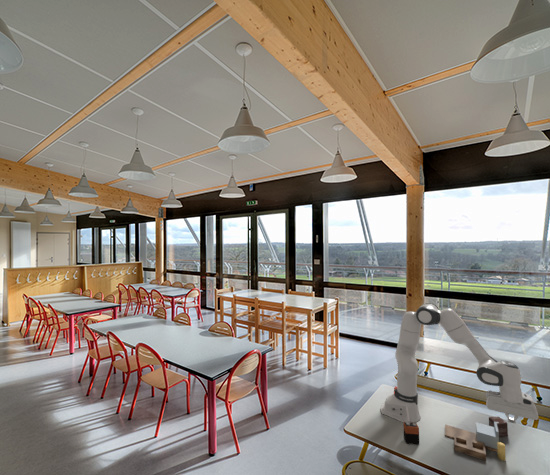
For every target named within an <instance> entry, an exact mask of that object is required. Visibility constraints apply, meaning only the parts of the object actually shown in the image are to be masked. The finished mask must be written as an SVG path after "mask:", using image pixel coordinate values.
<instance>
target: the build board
mask: <svg viewBox="0 0 550 475" xmlns="http://www.w3.org/2000/svg"><path fill="white" fill-rule="evenodd" d="M453 440H454V441H453V442H454V445H453V446H454V451H455V452H458V453H460V454H461V453H462V454H464V455H467V456H471V457H474V458H477V459H480V460H483V461H487V452H486V450H487V449H485V444H484V443H482V442H479V441H476V440H472V439H469V438H466V437H462V436H459V435H456V434H454V439H453Z"/></svg>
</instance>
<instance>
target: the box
mask: <svg viewBox="0 0 550 475" xmlns="http://www.w3.org/2000/svg"><path fill="white" fill-rule="evenodd" d="M494 422H496V423H497V427H498V432H499V438H500V437H502V438H503V437H508V436H509V432H508V431H509V430H508V421H507V422H506V421H505V420H504V419H503V418H501V417H500V416H488V426H492V427H494Z"/></svg>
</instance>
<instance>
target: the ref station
mask: <svg viewBox="0 0 550 475" xmlns="http://www.w3.org/2000/svg"><path fill="white" fill-rule="evenodd" d="M454 434H456V435H459V436H462V437H466V438H469V439H472V440H476V441H477V437H476V432H472V431H469V430H466V429H462V428H459V427H455V426H451V425H448V424H445V425H444V437H447V438H449V439H453V440H454ZM485 450H489V451H492V452H496V453H498V449H494V448H491V447H488V446H485Z"/></svg>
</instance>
